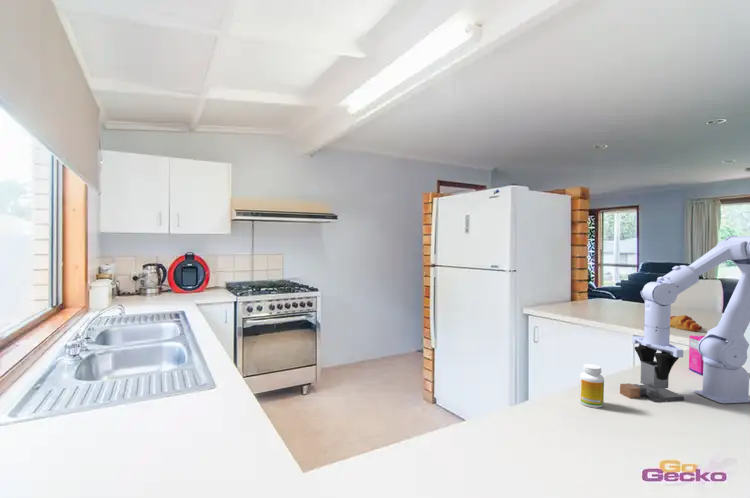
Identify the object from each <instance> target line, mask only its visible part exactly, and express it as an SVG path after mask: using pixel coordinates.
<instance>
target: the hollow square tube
mask: <svg viewBox="0 0 750 498" xmlns="http://www.w3.org/2000/svg"><path fill="white" fill-rule="evenodd" d="M669 377H670V375H669V376H668V378H667V380H660V379H659V378H658V366H657V361H656V360H654V361H640V384H641V385H646V386H649V387H651V388H653V389H660V388H665V389H669Z"/></svg>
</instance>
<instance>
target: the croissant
mask: <svg viewBox="0 0 750 498" xmlns="http://www.w3.org/2000/svg"><path fill="white" fill-rule="evenodd" d="M670 328H675V329H677V330H684V331H689V332H698V331H701V330H703V327H702V325H700V324H699V323H697V321H696V320H693V318H692V317H690V316H688V315H683V314H682V315H681V314H680V315H677V316H676V315H673V316H671V315H670Z"/></svg>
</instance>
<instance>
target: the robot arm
mask: <svg viewBox="0 0 750 498" xmlns="http://www.w3.org/2000/svg"><path fill="white" fill-rule="evenodd" d="M727 261H731V263H733V264H734V265H735V266H736V267H737V268H739V270H740V272H741V275H740V276H739V277H740V278H739V279H738V280H737V281H738V282H737V284H736V286H735V288H734V289H733V292H732V295H731V297H730V298H729V301H728V303H727V306H726V307H725V309H724V312H723V314H722V316H721V319H720V320H719V322H718V324H717V326H715V327H712V328H710V329H709V330H707V333H706V334H705V335H704V336H705V337H703V338H702V339H701V340H700V341H699V343H698V347H697V348H698V352H699V353H700V355H701V356H703V359H702V360H703V361H704V364H703V375H702V389H700V390H693V393H694V394H697V395H699V396H702V397H705V398H707V399H710V400H712V401H714V402H716V403H719V404H739V403H740V404H742V403H750V399H749V392H750V376H749V373H748V372H747V370H746V368H744V367H743V366H744V365H745V364H746V362H747V359H748V350H749V346H750V344H749V342H748V340H747V339H746V337H745V333H746V330H747V328H748V327H749V325H750V235H741V236H739V235H731V236H727V237H726V238H724V240H720V241H718V243H717V244H716V245H715V247H713V248H711V249H710V250H709V251H707V252H706V253H705V254H703V255H701V256H700V257H699V258H698V259H696V260H695V261H693V262H692V263H690V264H689V265H685V264H683V265H674V266H673V267H672V268H671V269H672V270H671V271H669V272H668V273H666V274H665V275H663V276H658V277H657V279H656V281H650V282H647V283H645V285H644V286H643V288H642V290H640V295H641V298H642V299H643V301H644V322H643V323H644V327H643V337H642V336H638V335H632V339H631V343H632V344H635V345H638V346H634V351H635V352H636V354H637V356H638V358H639V360H640V362H641V361H657V366H658V378H659V379H660V380H667V378H668V376H669V377H670V372H671V370H672V368H673V366H674V365H675V363H676V362H677V361H678V360H679V358H684V349H683V348H680V347H676V346H675V345H674V344H671V343H670V336H671V333H670V331H671V327H670V317H671V311H672V310H671V309H672V304H674V303H675V302H676V300H677V298H678V296H679V295H680V294H681V293H683V292H684V291H686V290H688V289H689V288H691V287H692V286H694V285H697V283H698V282H699V280H700V278H699V277H700V276H702V275H703V274H705V273H707V272H709V271H710V270H712V269H714V268H715V267H716V268H717V266H719V265H721V264H723V263H724V262H727ZM657 351H658V352H657Z"/></svg>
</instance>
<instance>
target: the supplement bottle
mask: <svg viewBox="0 0 750 498" xmlns="http://www.w3.org/2000/svg"><path fill="white" fill-rule="evenodd" d="M582 370H583V372H581V373H580V375H579V397H578V398H579V400H578V401H579V403H580V404H581V405H583V406H586V407H587V408H588V407H589V408H594V409H599V408H600V409H601V408H603V406H604V398H605V397H604V394H605V393H604V392H605V390H604V389H605V378H604V376H603V375H602V367H601V365H596V364H594V363H584V364H583V369H582Z"/></svg>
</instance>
